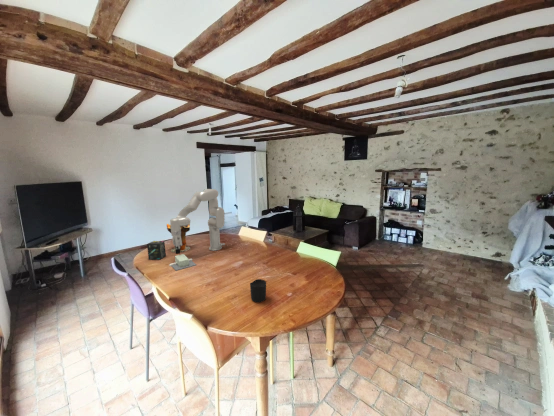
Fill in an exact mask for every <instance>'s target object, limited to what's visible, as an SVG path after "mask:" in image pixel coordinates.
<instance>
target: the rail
mask: <svg viewBox="0 0 554 416" xmlns="http://www.w3.org/2000/svg"><path fill="white" fill-rule="evenodd" d="M188 259H189V261H193V258H188ZM176 264H177V263H176V262H173V263H169V267H171V268H172V265H176Z"/></svg>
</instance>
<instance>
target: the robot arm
mask: <svg viewBox="0 0 554 416" xmlns="http://www.w3.org/2000/svg"><path fill="white" fill-rule="evenodd" d="M218 196H219V191H218V190H217V189H215V188H206V189H204V190H203V191H195V192H194V194H193V195H192V196H191V198H190V200H189V202H188V203H187V204H186V206H185V207H183V208H182V209H181V210H179V213H177V215H176V217H175V218H171V219H170V221H169V223H170V224H169V225H171V233H170V235H171V236H172V244H173V246H174V248H175V251H176V252H175V254H176V255H181V252H180V246H182V240H181V227H180V226H187V225H189V224H190V225H191V219H190V218H189V217H187V216H188V215H189V214H190V213H192V212H195V211H196V210H197V209H198V207H199V206H200V204H201V202H208V208H209V209H208V211H209V212H208V213H209V216H212V217H210V218H209V219H208V220H207V225H208V229H209V247H208V250H209V251H214V252H215V251H220V250H221V249H223V246H225V243H224V242H221V235H220V234H221V233H220V229H222V228H224V226H225V210H224V208H223V207H221V206H219V201H218Z"/></svg>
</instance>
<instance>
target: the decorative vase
mask: <svg viewBox="0 0 554 416" xmlns="http://www.w3.org/2000/svg"><path fill="white" fill-rule="evenodd" d="M180 227H181V240H182V246H180V253H181V252H182V253H183V252H187V251H188V250H191V247H190V246H187V239H186V238H187V237H186V236H187V233H188V232H190V230H191V223H190V224H189V225H187V226H180ZM166 230H167V231H168V232H169V233H170V234H171V225H170V224H169V223H166ZM170 252H172V253H176V251H175V247H173V248H172V249H170Z"/></svg>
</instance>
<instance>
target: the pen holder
mask: <svg viewBox="0 0 554 416" xmlns="http://www.w3.org/2000/svg"><path fill="white" fill-rule="evenodd" d="M249 284H250V285H249V286H250V287H249V288H250V300H251V301H252V302H253V303H263V302H264V301H265V300H266V299H267V281H266V280H265V279H260V278H258V279H255V280H253V281H252V282H250V283H249Z"/></svg>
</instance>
